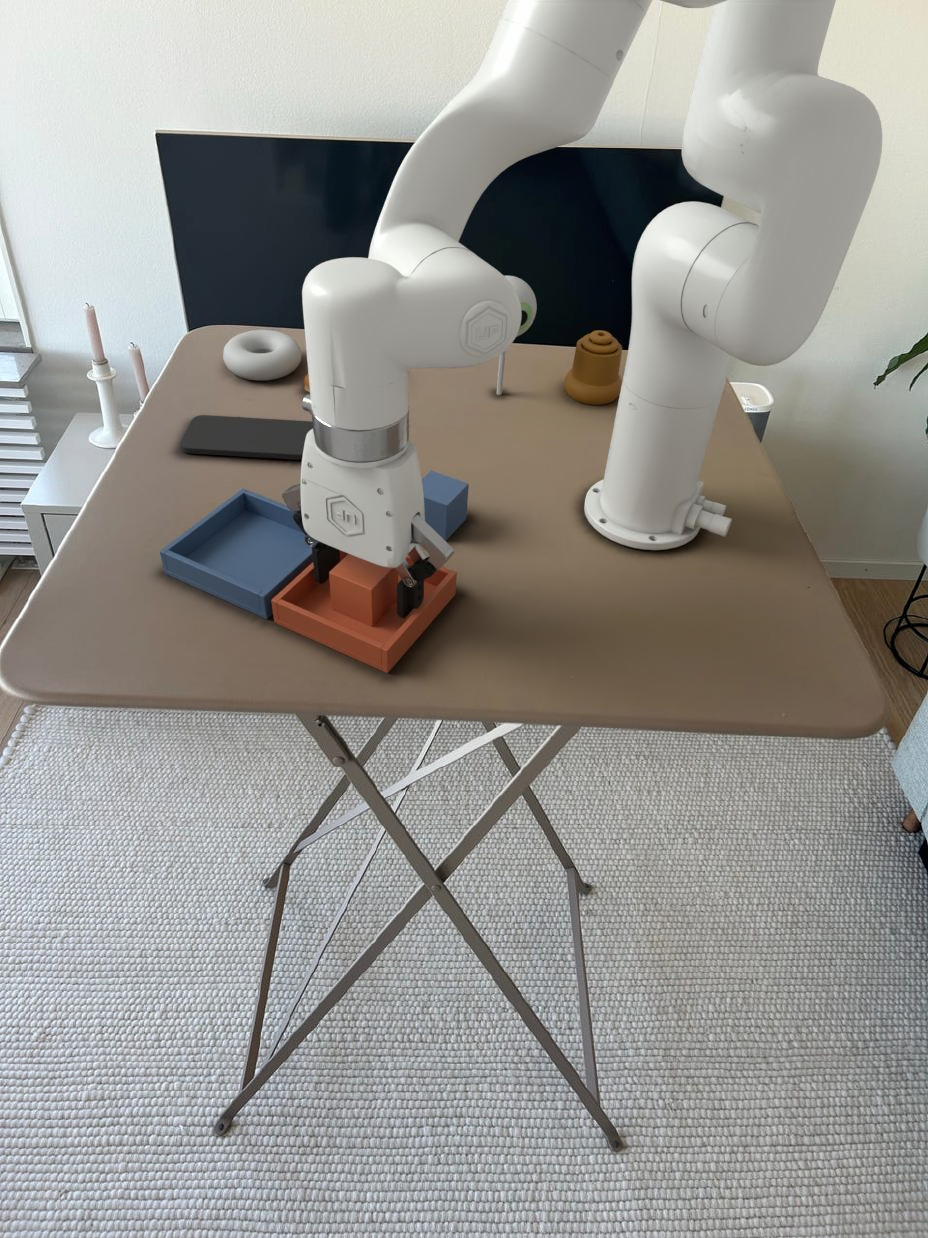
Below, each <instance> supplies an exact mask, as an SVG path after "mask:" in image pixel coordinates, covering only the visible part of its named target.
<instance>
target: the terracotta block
mask: <svg viewBox="0 0 928 1238" xmlns="http://www.w3.org/2000/svg"><path fill="white" fill-rule="evenodd" d="M329 577H330V592H331V606H332V610H335V611H337V612H339V613H342V614H344V615H346V616H349V617H351V618H353V619H356V620H358V621H360V622H363V623H365V624H367V625H369V626H372V627H373V626H374V625H375V624H376V623H377V621H378V620H379V619H380V618H381V617H382V616H383V615H384V614H385V613H386V612H387V611H388V610H389V608H390V607H391V606H392V605H393V604H394V603H395V602H396V601H397V584H398V573H397V571H396V569H395V568H387V567H383V566H380V565H377V564H374V563H371V562H369V561H366V560H364V559H361V558H359V557H356V556H353V555H351V554H348V555H347V556H346V557H345V558H344V559H343V560H342V561H341V562H340V563H338V564H337V565H336V566H335V567H334V568H333V569H332V570H331V571H330V572H329Z"/></svg>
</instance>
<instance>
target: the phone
mask: <svg viewBox="0 0 928 1238" xmlns="http://www.w3.org/2000/svg"><path fill="white" fill-rule="evenodd" d="M311 429H313V422H312V421H310V420H295V419H279V418H278V419H277V418H263V417H261V418H259V417H246V416H245V417H243V416H228V415H227V416H226V415H209V414H208V415H207V414H203V415H202V414H200V415H196V416H194V417H193V418H192V419H191V421H190V422H189V425H188V426H187V428H186V430H185V431H184V434H183V436H182V438H181V440H180V442H179V447H180V450H181V451H182V452H183V453H186V454H194V455H196V454H197V455H213V456H228V457H229V456H231V457H245V458H262V459H263V458H265V459H280V460H281V459H283V460H299V461H300V460H301V461H302V457H303V450H304V444H305V439H306V435H307V433H308V432H309V431H310V430H311Z"/></svg>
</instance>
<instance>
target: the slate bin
mask: <svg viewBox="0 0 928 1238" xmlns="http://www.w3.org/2000/svg"><path fill="white" fill-rule="evenodd" d="M293 515H294V514H293V512H291V511H290V510H289V508H288V506H287V505H286V504H284V503H281V502H279V501H276V500H274V499H272V498H269V497H266V496H264V495H261V494H258V493H256V492H253V491H251V490H248V489H247V488H243V487H242V488H241V489H239V490H238V491H237V492H236V493H235V494H233V495H232V496H231V497H229V498H228V499H227V500H226V501H224V502H223V503H221V504H220V505H219V506H217V507H216V508H215V509H214V510H212V511H210V512H209V513H208V514H207V515H205V516H204V517H203V518H201V519H200V520H199V521H198V522H196V523H195V524H193V525H192V526H191V527H189V528H188V529H187V530H185V531H184V532H183V533H182V534H180V535H179V536H177V538H175V539H174V540H172V541H171V542H170V543H168V544H167V545H166V546H165V547H162V549H160V550H159V555H160V560H161V563H162V568H163V571H164V575H167V576H169V577H171V578H174V579H176V580H178V581H180V582H182V583H185V584H187V585H189V586H192V587H194V588H196V589H198V590H201V591H203V592H205V593H207V594H210V595H212V596H214V597H216V598H219V599H220V600H223V601H225V602H227V603H230V604H232V605H234V606H236V607H238V608H241V609H243V610H244V611H247V612H250V613H252V614H254V615H256V616H259V617H261V618H263V619H265V620H268V619H269V618H270V617H272V616H273V609H272V602H271V600H272V599H273V598H274V597H275V596H276V595H278V594H279V593H280V592H281V591H282V590H283V589H284V588H285V587H286V586H287V585H288V584H290V583H291V582H292V581H293V580H294V579H295V578H296V577H297V576H298V575H299V574H300V573H302V572H303V571H304V570H305V569H306V568H307V567H308V566H309V565H310V564H311V563H313V556H312V547H309V546H308V545H307V544H306V543H305V540H304V538H305V536H306V535H305V534H304V533H303V531H302V530H301V529H300V528H299V526H298V525H297V524H296V523H295V521H294V519H293Z"/></svg>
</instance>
